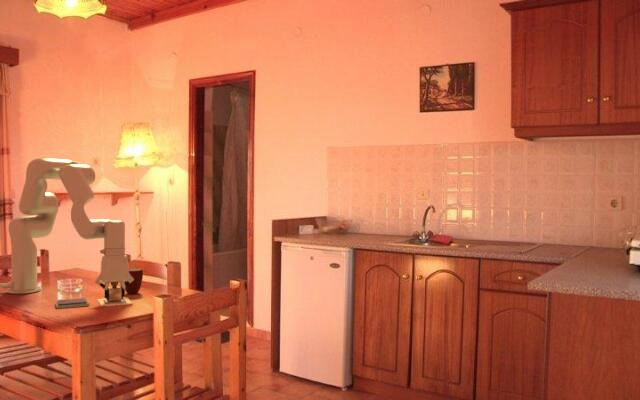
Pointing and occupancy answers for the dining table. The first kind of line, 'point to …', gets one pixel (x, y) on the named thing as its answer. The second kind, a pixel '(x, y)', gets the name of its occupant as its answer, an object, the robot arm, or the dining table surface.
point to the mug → (135, 281)
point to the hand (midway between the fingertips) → (114, 298)
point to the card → (123, 302)
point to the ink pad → (71, 303)
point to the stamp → (114, 292)
